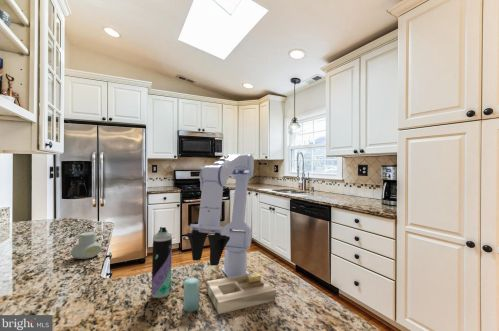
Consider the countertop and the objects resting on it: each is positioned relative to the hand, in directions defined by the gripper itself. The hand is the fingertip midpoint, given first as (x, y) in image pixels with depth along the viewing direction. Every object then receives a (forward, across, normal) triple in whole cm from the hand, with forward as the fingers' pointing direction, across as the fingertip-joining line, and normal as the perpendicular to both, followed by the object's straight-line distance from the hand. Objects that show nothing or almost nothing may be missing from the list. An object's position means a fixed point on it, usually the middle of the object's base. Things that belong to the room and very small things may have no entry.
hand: (205, 262), depth 60 cm
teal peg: (+13, -8, +3) cm, 15 cm away
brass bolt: (+7, 0, +19) cm, 21 cm away
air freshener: (+9, -72, -9) cm, 73 cm away
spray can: (+12, -20, 0) cm, 24 cm away
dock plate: (+11, -2, +16) cm, 19 cm away
